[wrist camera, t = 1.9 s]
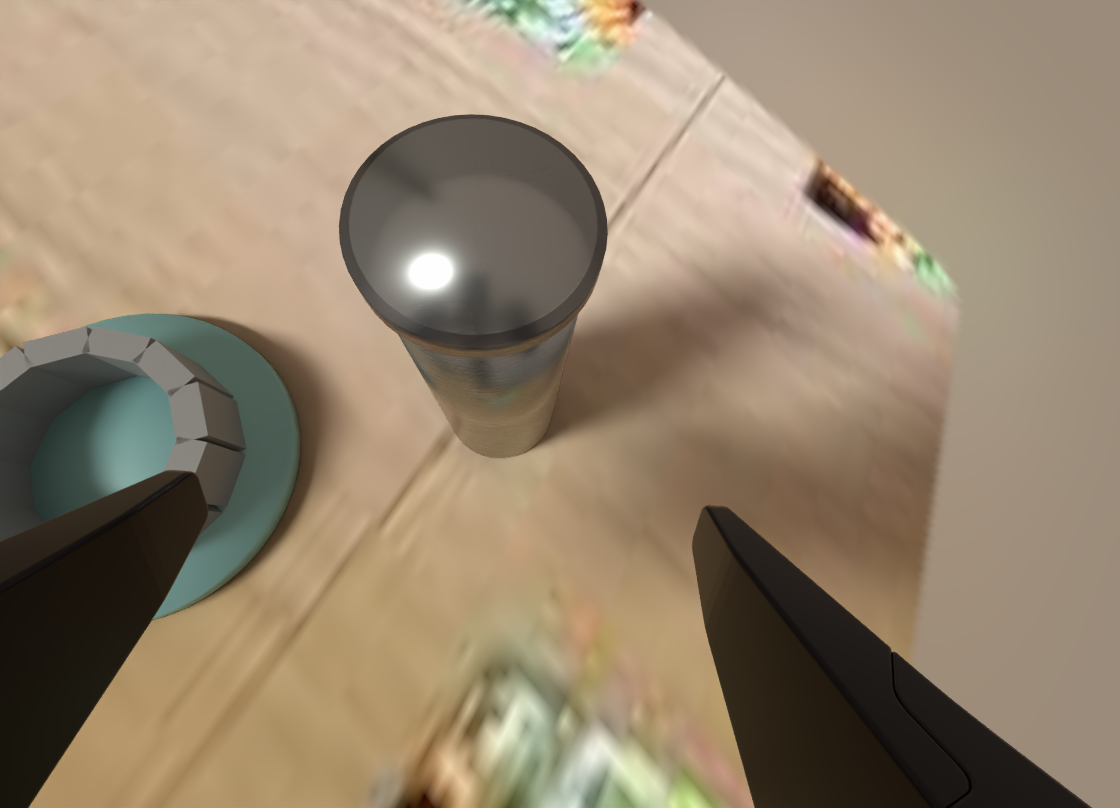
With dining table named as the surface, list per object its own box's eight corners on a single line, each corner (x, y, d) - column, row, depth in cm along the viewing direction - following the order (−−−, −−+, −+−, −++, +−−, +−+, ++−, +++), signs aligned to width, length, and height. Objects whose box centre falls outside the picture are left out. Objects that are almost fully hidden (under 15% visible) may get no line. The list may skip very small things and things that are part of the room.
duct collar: (107, 703, 18) (17, 739, 14) (-101, 477, 19) (-226, 464, 16) (363, 448, 21) (335, 430, 17) (167, 269, 22) (108, 223, 19)
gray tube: (505, 487, 21) (483, 400, 8) (420, 411, 21) (277, 222, 9) (579, 402, 22) (660, 214, 9) (497, 333, 22) (469, 68, 10)
